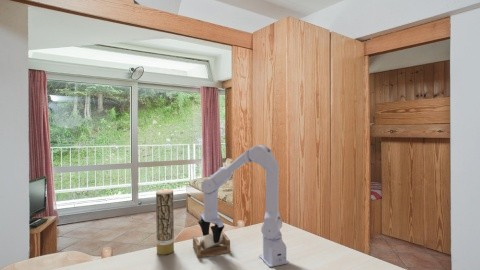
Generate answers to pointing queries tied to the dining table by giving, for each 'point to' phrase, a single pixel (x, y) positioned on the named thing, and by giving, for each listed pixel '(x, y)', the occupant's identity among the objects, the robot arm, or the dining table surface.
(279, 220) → the robot arm
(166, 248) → the paper tube
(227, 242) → the holder
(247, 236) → the dining table surface
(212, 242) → the roll
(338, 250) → the dining table surface
